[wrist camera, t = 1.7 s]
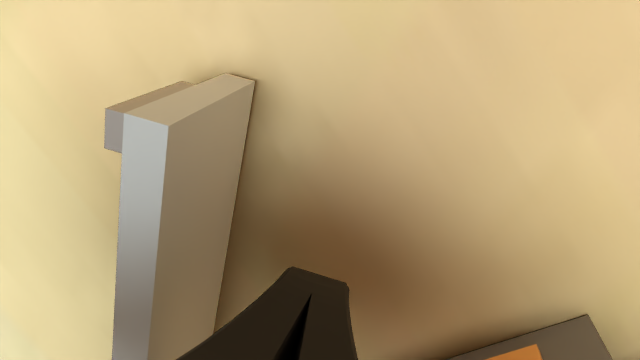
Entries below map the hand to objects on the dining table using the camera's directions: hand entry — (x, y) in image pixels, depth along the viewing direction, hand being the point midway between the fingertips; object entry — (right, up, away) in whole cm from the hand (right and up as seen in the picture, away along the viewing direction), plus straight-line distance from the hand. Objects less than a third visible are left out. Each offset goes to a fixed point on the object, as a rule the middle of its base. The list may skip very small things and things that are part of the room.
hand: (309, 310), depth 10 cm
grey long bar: (-4, 0, +4) cm, 6 cm away
